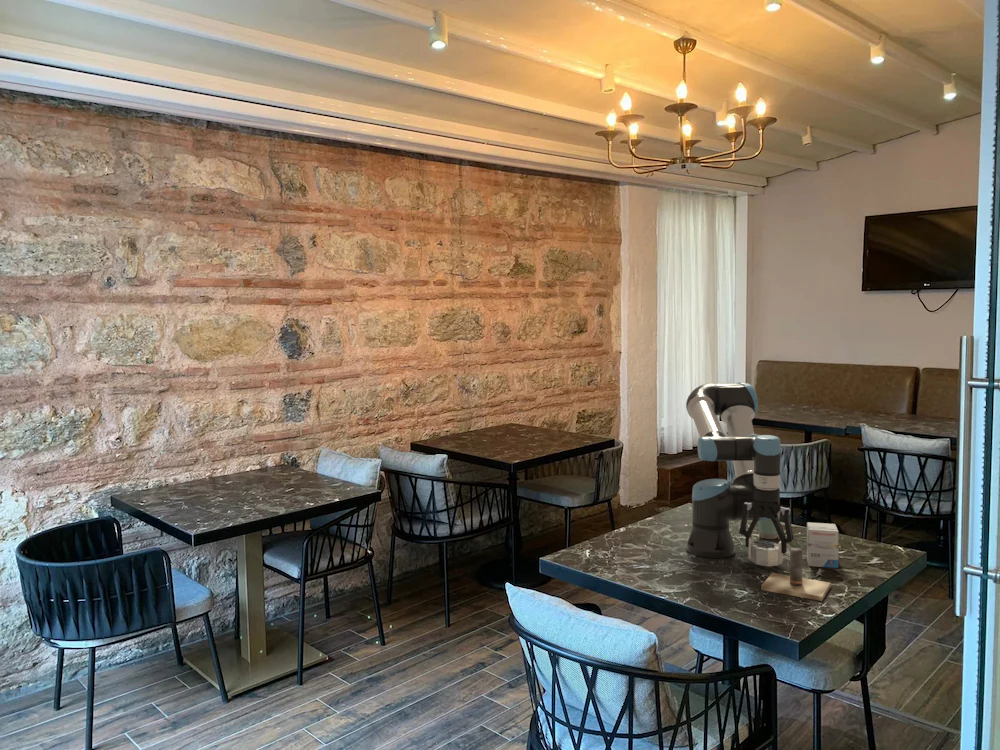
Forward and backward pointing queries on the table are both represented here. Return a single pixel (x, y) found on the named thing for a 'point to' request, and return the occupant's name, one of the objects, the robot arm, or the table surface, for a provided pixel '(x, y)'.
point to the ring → (764, 553)
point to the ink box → (822, 545)
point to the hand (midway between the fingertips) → (765, 560)
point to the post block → (796, 581)
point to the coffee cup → (767, 529)
